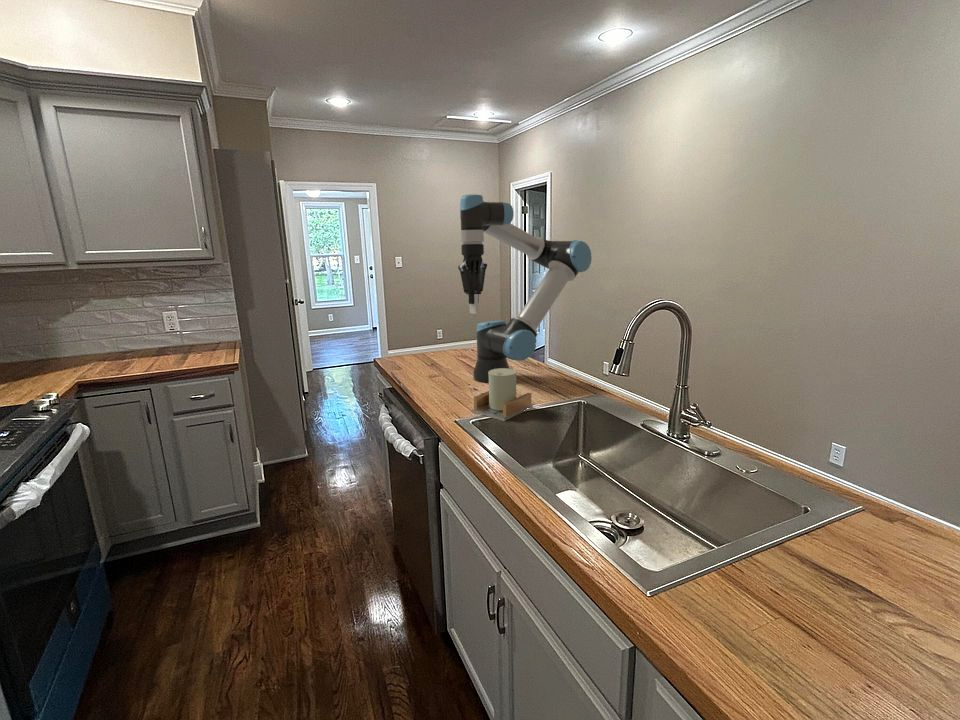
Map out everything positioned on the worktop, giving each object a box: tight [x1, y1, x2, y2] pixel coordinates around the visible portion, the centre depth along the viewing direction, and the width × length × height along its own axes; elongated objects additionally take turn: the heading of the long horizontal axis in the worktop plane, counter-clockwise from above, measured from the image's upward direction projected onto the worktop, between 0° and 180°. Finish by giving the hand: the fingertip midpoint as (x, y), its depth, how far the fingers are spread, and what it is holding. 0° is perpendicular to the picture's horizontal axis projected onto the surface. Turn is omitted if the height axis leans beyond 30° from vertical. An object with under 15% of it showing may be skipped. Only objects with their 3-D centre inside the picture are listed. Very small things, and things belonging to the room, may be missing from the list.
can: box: [488, 368, 518, 411], centre depth 154 cm, size 9×9×12 cm
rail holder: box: [471, 390, 534, 422], centre depth 155 cm, size 16×13×5 cm
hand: (474, 313), depth 166 cm, fingers closed
